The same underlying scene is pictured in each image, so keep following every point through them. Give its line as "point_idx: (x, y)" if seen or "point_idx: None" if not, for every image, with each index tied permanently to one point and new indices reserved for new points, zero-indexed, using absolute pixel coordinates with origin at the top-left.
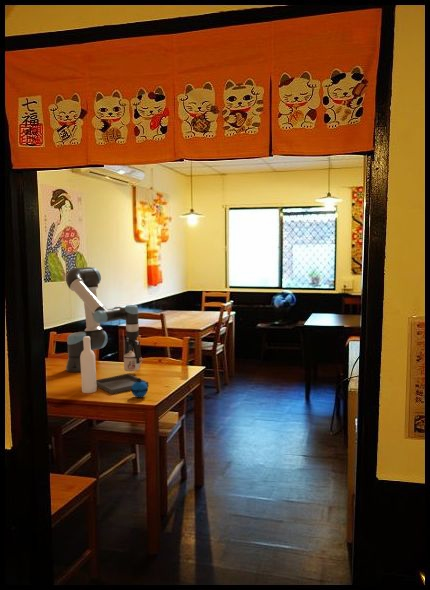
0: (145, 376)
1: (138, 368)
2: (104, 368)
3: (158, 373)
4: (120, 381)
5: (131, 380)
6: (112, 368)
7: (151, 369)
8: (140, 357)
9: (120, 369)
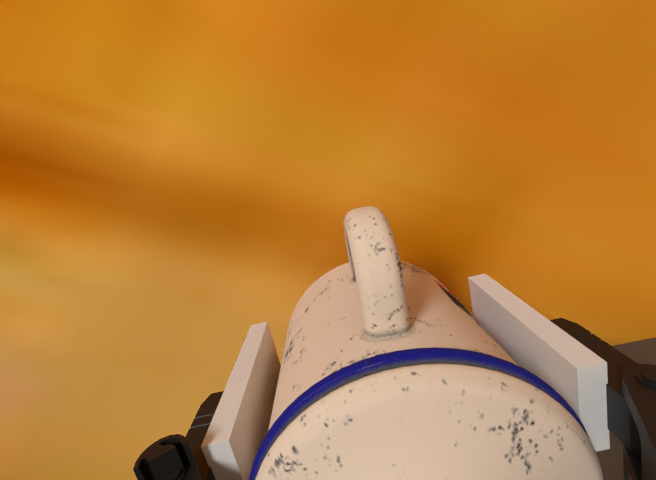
0: (548, 210)
1: (415, 266)
2: (25, 476)
3: (519, 21)
4: (603, 466)
5: None
6: (50, 418)
7: (274, 44)
8: (400, 268)
9: (122, 364)
